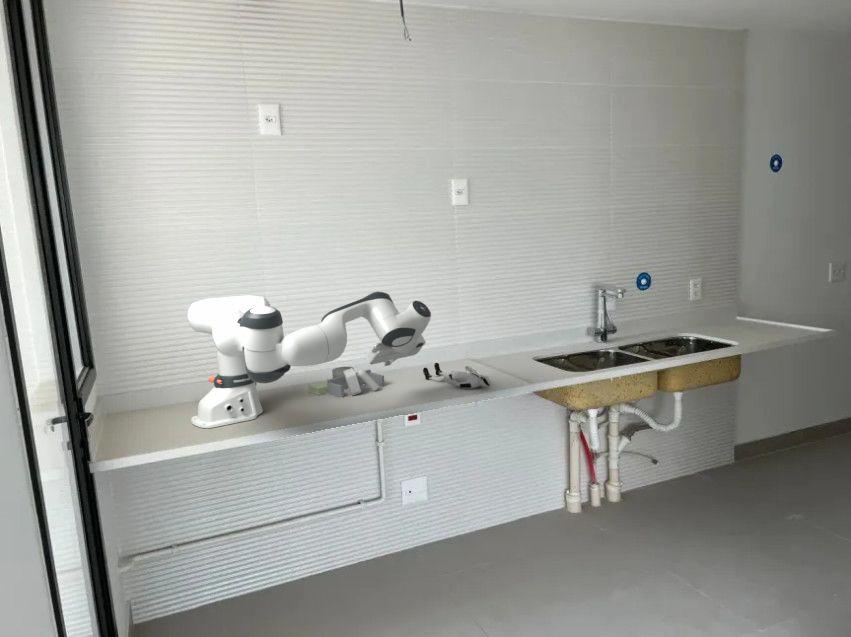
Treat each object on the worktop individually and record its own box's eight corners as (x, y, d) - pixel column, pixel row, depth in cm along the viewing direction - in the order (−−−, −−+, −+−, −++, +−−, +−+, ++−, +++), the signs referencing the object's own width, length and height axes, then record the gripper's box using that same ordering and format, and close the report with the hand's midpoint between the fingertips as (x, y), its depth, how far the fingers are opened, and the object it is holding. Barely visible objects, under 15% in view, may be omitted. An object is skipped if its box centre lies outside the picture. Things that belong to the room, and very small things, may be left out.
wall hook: (382, 391, 222) (373, 365, 220) (354, 401, 220) (345, 375, 218) (377, 385, 230) (369, 360, 228) (351, 395, 228) (342, 370, 226)
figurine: (442, 359, 243) (500, 367, 221) (444, 375, 244) (503, 383, 222) (417, 370, 234) (475, 378, 212) (420, 386, 236) (478, 396, 213)
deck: (333, 399, 216) (331, 381, 215) (308, 391, 229) (307, 374, 228) (391, 384, 233) (390, 367, 232) (366, 377, 246) (364, 361, 245)
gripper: (380, 352, 196) (364, 377, 205) (429, 342, 209) (412, 366, 218) (371, 336, 199) (356, 362, 208) (420, 327, 212) (404, 352, 221)
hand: (385, 364), depth 213 cm, fingers closed
